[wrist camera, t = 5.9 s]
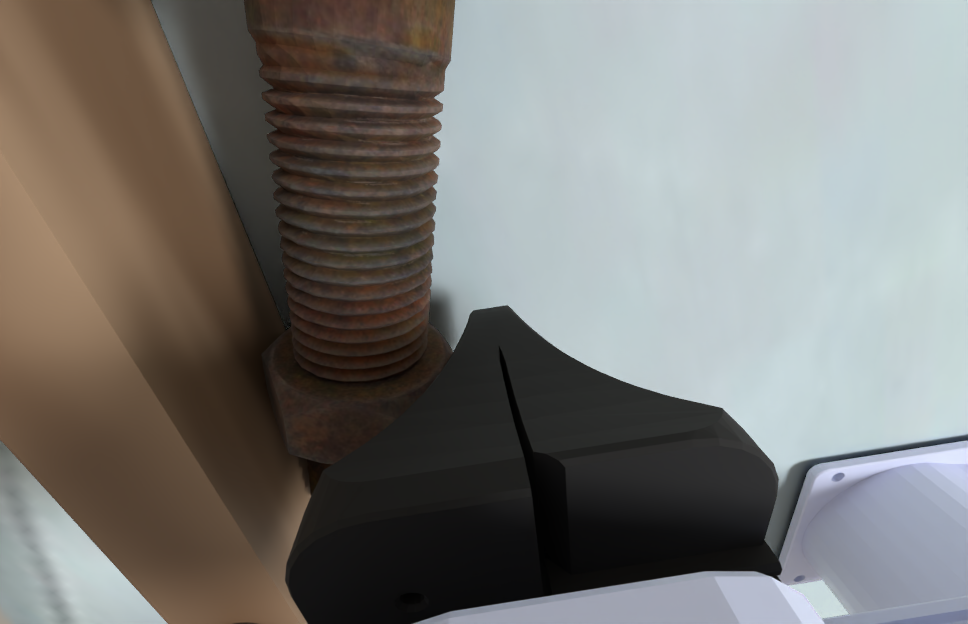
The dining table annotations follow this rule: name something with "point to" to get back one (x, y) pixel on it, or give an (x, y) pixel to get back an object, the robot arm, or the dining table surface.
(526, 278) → the dining table surface
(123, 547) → the bench stop
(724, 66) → the dining table surface
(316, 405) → the bolt
